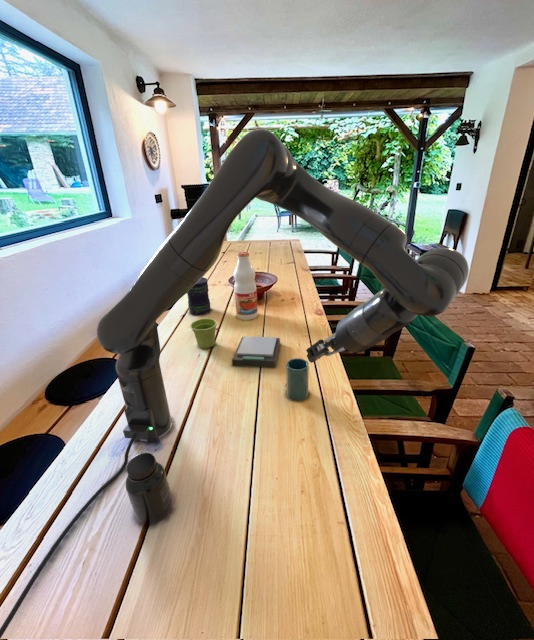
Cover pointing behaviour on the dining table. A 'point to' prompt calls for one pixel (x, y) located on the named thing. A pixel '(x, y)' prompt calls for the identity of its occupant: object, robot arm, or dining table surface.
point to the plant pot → (204, 332)
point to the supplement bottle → (148, 489)
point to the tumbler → (297, 379)
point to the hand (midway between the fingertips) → (325, 353)
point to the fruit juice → (245, 288)
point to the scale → (256, 352)
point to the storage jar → (199, 298)
